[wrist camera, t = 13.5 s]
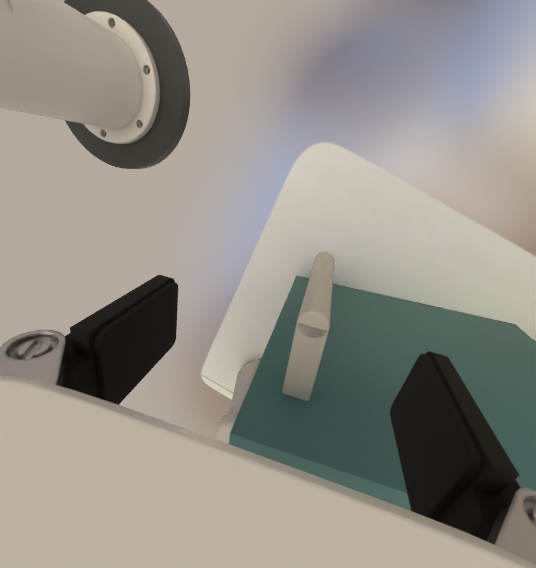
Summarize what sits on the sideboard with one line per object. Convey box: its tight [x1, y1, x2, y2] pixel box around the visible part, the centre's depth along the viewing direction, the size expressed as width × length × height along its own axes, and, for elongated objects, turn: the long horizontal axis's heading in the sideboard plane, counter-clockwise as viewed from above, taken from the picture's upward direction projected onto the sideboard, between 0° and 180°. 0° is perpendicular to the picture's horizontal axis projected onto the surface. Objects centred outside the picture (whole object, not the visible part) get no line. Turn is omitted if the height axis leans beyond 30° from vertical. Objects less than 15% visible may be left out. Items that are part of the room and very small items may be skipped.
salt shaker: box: [217, 359, 261, 444], centre depth 38 cm, size 6×6×13 cm
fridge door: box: [229, 252, 536, 511], centre depth 22 cm, size 8×26×24 cm, turn 82°
